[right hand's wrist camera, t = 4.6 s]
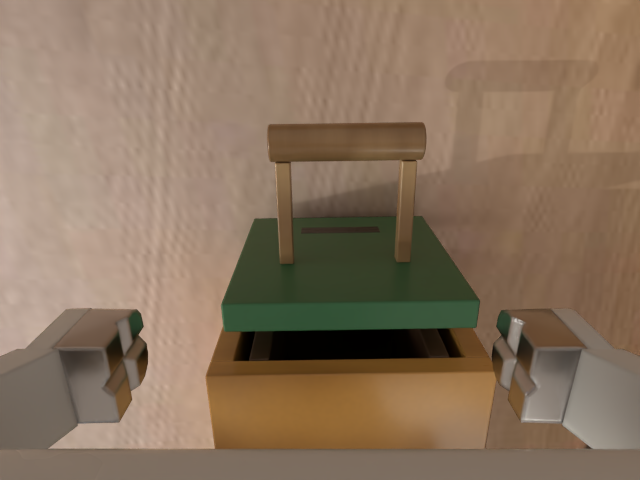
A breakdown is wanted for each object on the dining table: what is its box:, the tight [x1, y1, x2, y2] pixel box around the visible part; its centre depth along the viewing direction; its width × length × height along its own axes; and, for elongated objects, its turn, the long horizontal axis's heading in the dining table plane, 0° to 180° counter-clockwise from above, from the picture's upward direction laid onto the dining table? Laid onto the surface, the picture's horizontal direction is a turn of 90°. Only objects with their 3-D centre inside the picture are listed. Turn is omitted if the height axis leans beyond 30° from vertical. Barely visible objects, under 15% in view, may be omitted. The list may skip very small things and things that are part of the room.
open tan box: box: [205, 328, 497, 449], centre depth 25 cm, size 20×11×11 cm, turn 1°
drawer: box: [221, 122, 480, 361], centre depth 23 cm, size 25×9×10 cm, turn 1°
